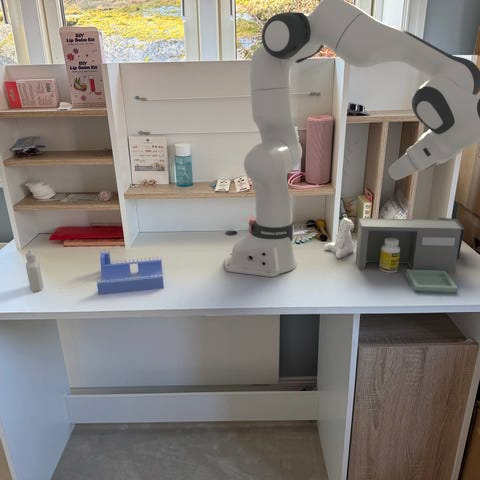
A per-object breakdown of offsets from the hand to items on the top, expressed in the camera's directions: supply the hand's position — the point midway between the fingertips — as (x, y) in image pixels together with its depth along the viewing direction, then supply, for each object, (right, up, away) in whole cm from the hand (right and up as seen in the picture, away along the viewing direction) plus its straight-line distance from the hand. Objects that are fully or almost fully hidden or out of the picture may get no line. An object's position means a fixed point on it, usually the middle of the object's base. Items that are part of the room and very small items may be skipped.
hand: (403, 168), depth 127 cm
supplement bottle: (+1, -29, +16) cm, 33 cm away
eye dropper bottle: (-103, -34, +8) cm, 109 cm away
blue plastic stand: (-77, -32, +13) cm, 84 cm away
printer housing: (+6, -28, +18) cm, 33 cm away
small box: (+23, -24, +27) cm, 43 cm away
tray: (+10, -32, +6) cm, 34 cm away
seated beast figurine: (-11, -24, +29) cm, 39 cm away
